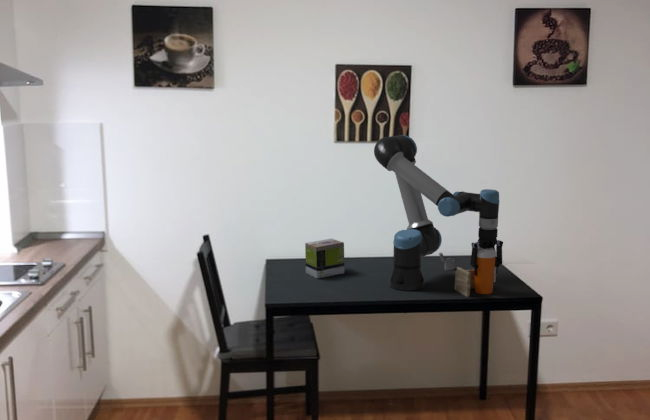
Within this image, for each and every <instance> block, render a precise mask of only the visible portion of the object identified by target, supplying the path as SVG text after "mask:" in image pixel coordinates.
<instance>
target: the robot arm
mask: <svg viewBox="0 0 650 420" xmlns="http://www.w3.org/2000/svg"><path fill="white" fill-rule="evenodd" d="M417 152H418V147H417V143H416V142H415V140H414V139H413V138H411V137H410V136H408V135H402V134H398V135H392V136H384V137H381V138H380V139H378V140H377V141H376V143H375V145H374V148H373V154H374V158H375V159H376V161H377V162H378V163H379V165H381V167H383V168H384V169H386V170H387V171H389V172H393V173H394V174H395V177H396V178H395V179H396V181H397V185H398V189H399V192H400V195H401V196H400V197H401V199H402V203H403V206H404V211H405V215H406V219H407V223H408V225H407V228H406V229H401V230H398V231H397V232H396V233H395V234H394V238H393V264H392V265H393V266H392V270H391V273H390V276H389V278H388V286H389V287H390V288H392V289H395V290H399V291H405V292H406V291H407V292H409V291H410V292H411V291H418V290H422V289H424V288H425V278H424V275H423V271H422V258H423V257H427V256H428V255H429V256H430V255H432V254H434V253H435V252H437V251H438V250H439V249H440V247H441V245H442V235H441V232H440V231H439V229H437V228H436V227H434V223H433V221H432V220H430V219H429V218H428V213H427V212H426V211H427V210H426V206H425V203H424V199H423V197H422V196H424V197H425V198H427V199H428V200H429V201H431V203H433V204H434V205H435V206H437V209H438V212H439V214H440V215H441V216H443V217H447V218H448V217H455V216H456V215H459V214H461V213H465V212H474V213H475V212H476V213H478V214H479V217H478V233H477V234H478V235H477V236H478V239H477V241H476V242H471V254H470V255H471V257H470V264H469V265H470V267H472V268H473V269H474V275H476V276H477V268H478V264H477V265H476V261H477V253H478V247H479V246H481V248H483V249H487V248H489V247H486V246H489V245H491V246H494V247H493V249H495V251H496V257H495V269H494V281H493V283H496V282H497V281H496V278H497V277H496V276H497V274H498V268H499V267H500V266H501V265H503V245H504V241H502V240H500V239H499V240H498V230H499V229H498V227H499V225H498V224H499V211H500V210H499V209H500V192H499V191H498V190H497V189H492V188H491V189H489V188H488V189H482V190H480V193H474V192H469V191H468V192H466V191H462V190H461V191H455V192H454V193H451V191H449V190H448V189H446V187H444V186H443V185H441V184H440V183H439V182H437V181H436V179H435V180H434V179H433V178H432V177H431V176H429V174H427V173H426V172H424V171H423V170H422V169H420V168H419V167H418V166H417V165H416V163H417V160H416V155H417ZM478 245H479V246H478Z"/></svg>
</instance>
